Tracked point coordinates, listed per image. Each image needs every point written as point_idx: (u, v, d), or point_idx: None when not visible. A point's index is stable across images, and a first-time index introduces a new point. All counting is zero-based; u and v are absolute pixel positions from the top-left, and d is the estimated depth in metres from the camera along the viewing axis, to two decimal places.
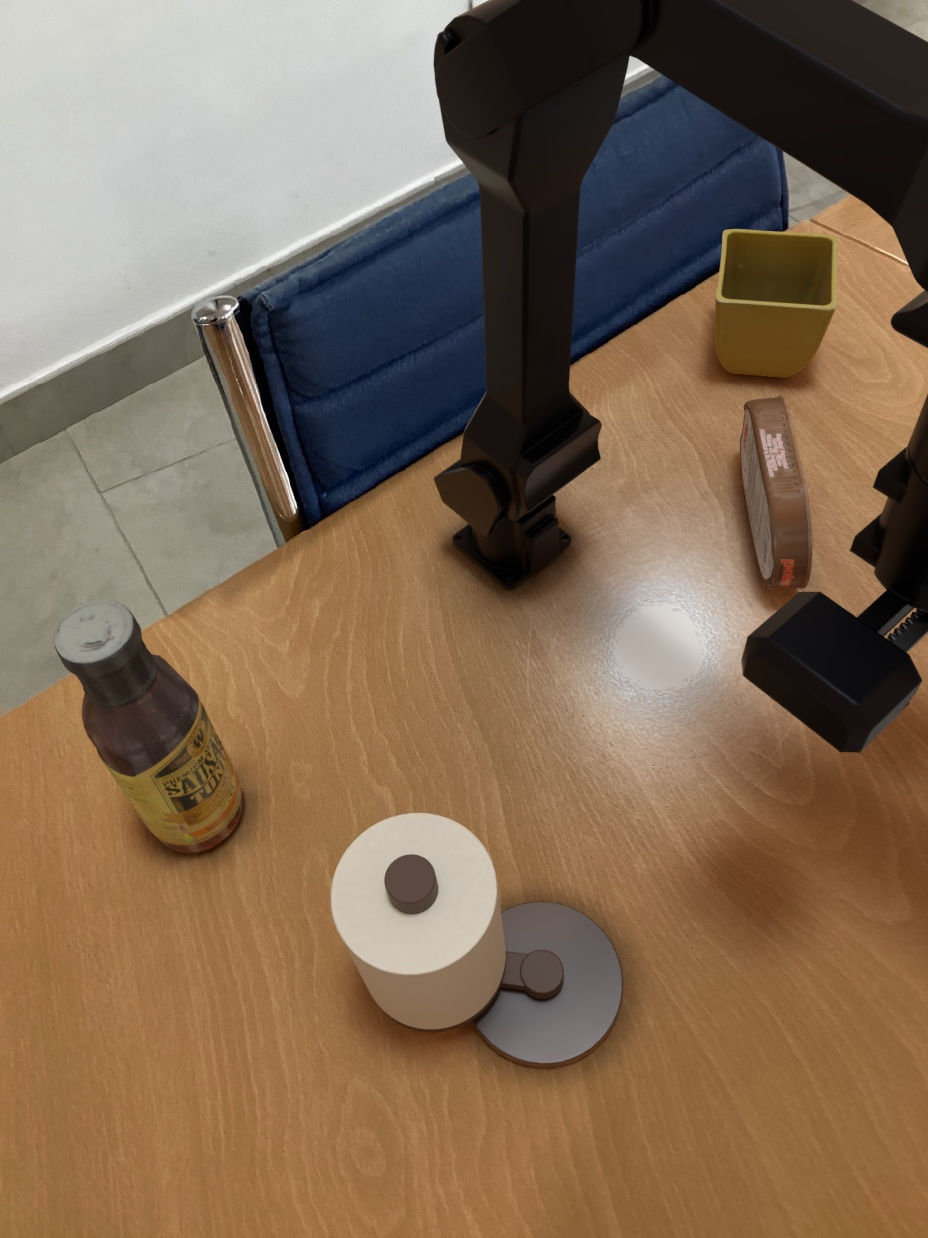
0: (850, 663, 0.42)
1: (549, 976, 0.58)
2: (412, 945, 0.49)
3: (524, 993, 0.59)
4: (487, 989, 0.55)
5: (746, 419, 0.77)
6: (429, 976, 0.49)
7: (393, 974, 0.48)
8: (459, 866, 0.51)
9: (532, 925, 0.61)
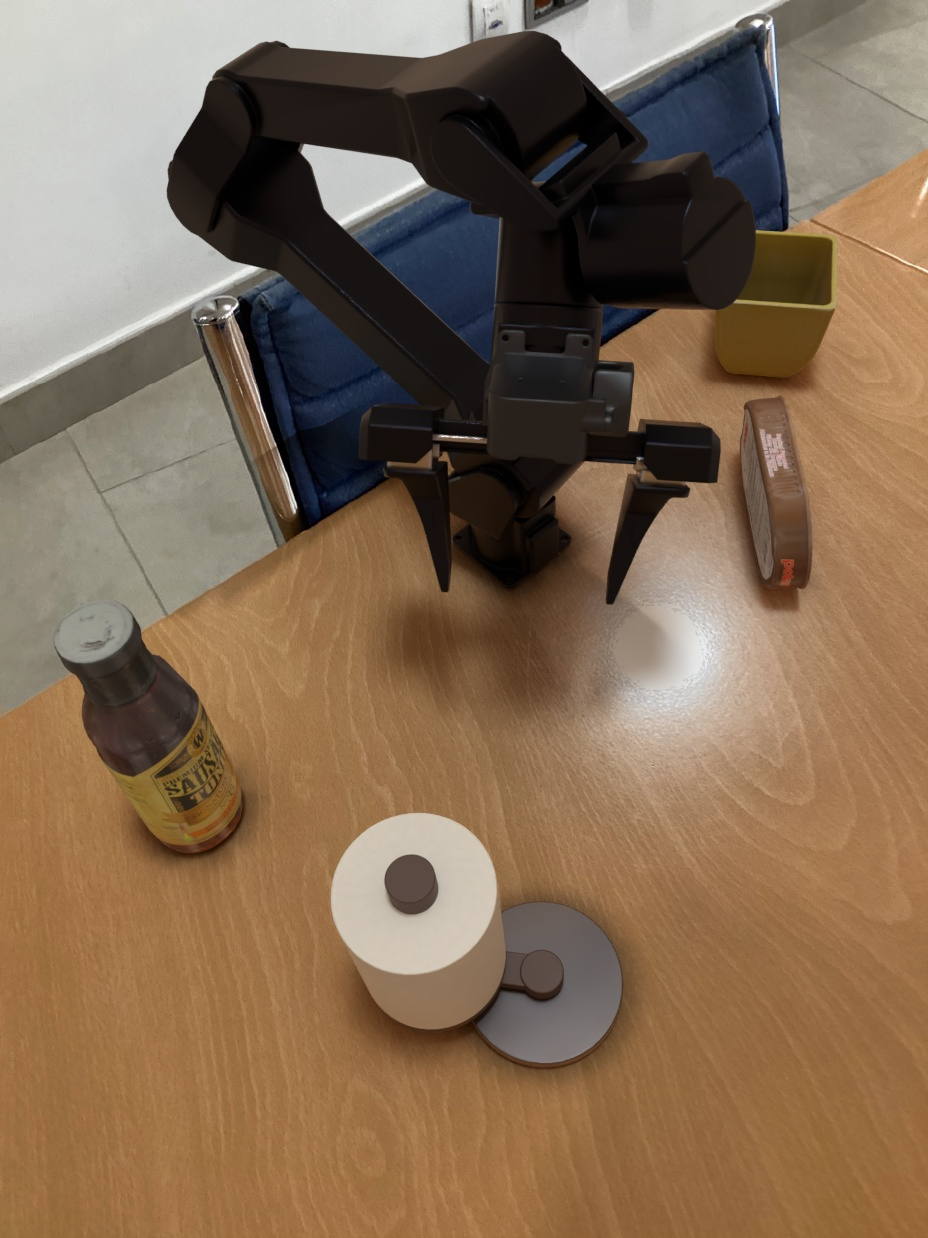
0: (401, 406, 0.57)
1: (549, 976, 0.58)
2: (412, 945, 0.49)
3: (524, 993, 0.59)
4: (487, 989, 0.55)
5: (746, 419, 0.77)
6: (429, 976, 0.49)
7: (393, 974, 0.48)
8: (459, 866, 0.51)
9: (532, 925, 0.61)
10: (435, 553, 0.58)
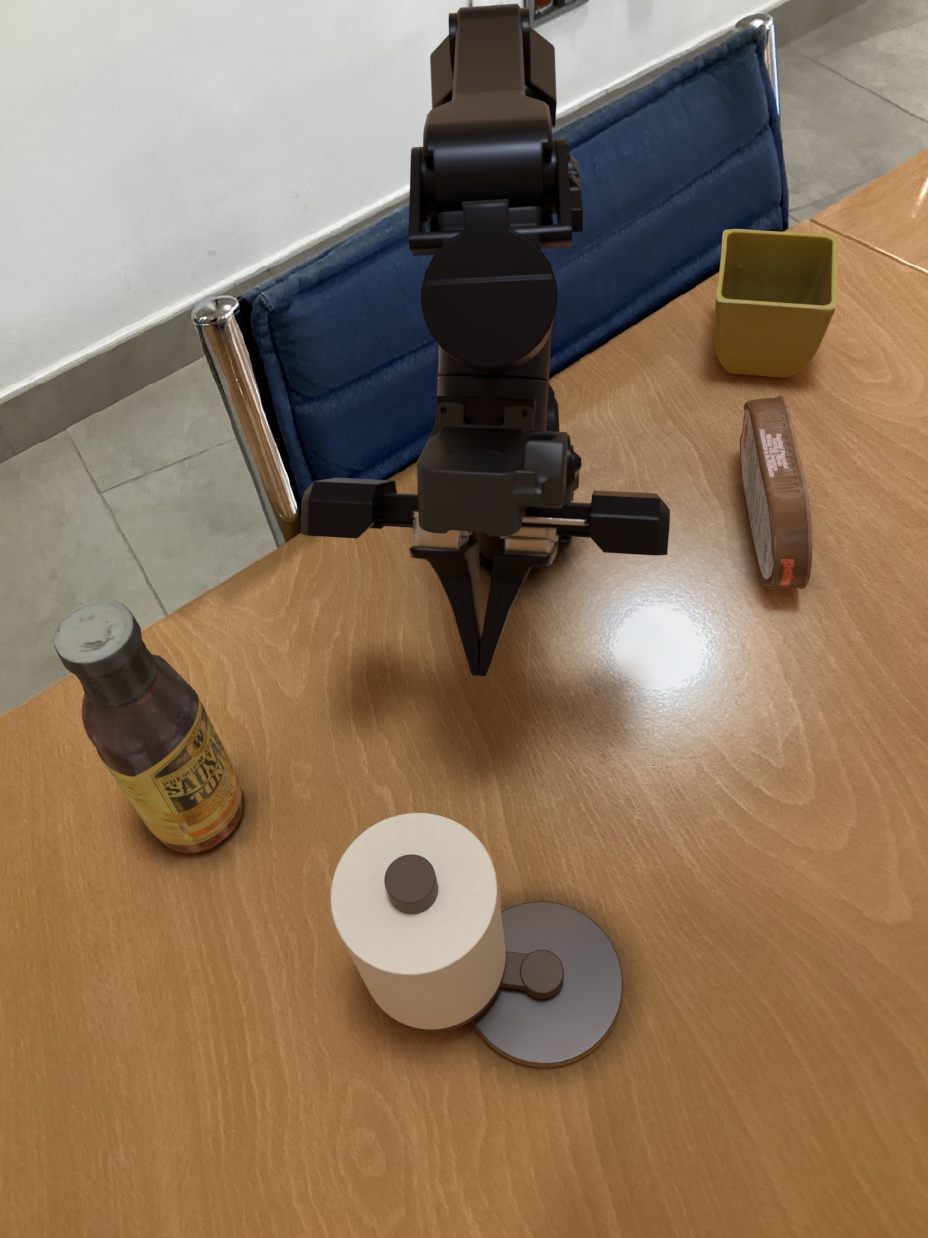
0: (346, 481, 0.56)
1: (549, 976, 0.58)
2: (412, 945, 0.49)
3: (524, 993, 0.59)
4: (487, 989, 0.55)
5: (746, 419, 0.77)
6: (429, 976, 0.49)
7: (393, 974, 0.48)
8: (459, 866, 0.51)
9: (532, 925, 0.61)
10: (464, 635, 0.56)
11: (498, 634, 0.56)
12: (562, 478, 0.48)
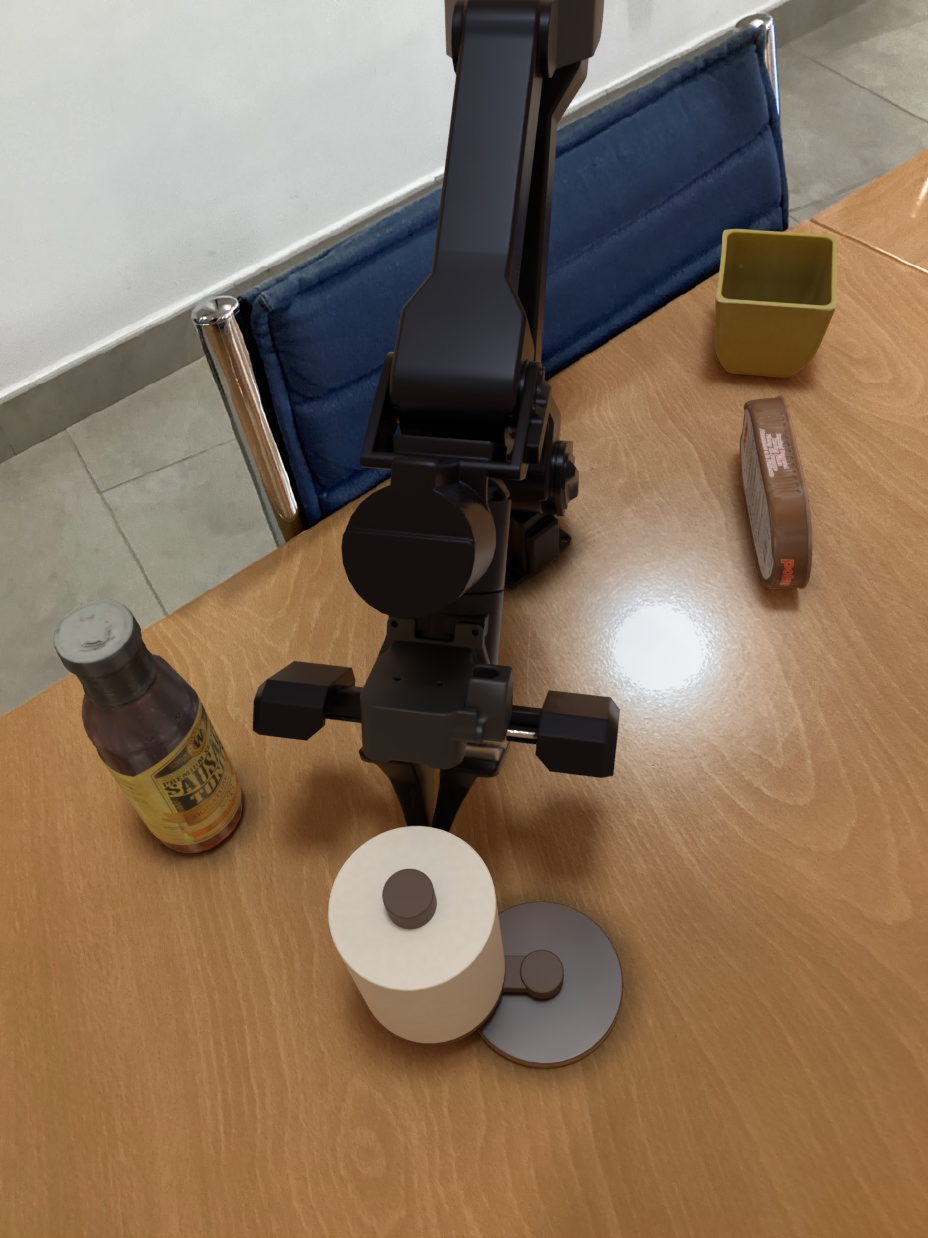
0: (300, 676, 0.56)
1: (550, 975, 0.58)
2: (417, 959, 0.49)
3: (524, 993, 0.59)
4: (491, 995, 0.55)
5: (746, 419, 0.77)
6: (437, 988, 0.48)
7: (401, 991, 0.48)
8: (454, 875, 0.51)
9: (532, 925, 0.61)
10: None
11: None
12: (504, 717, 0.48)
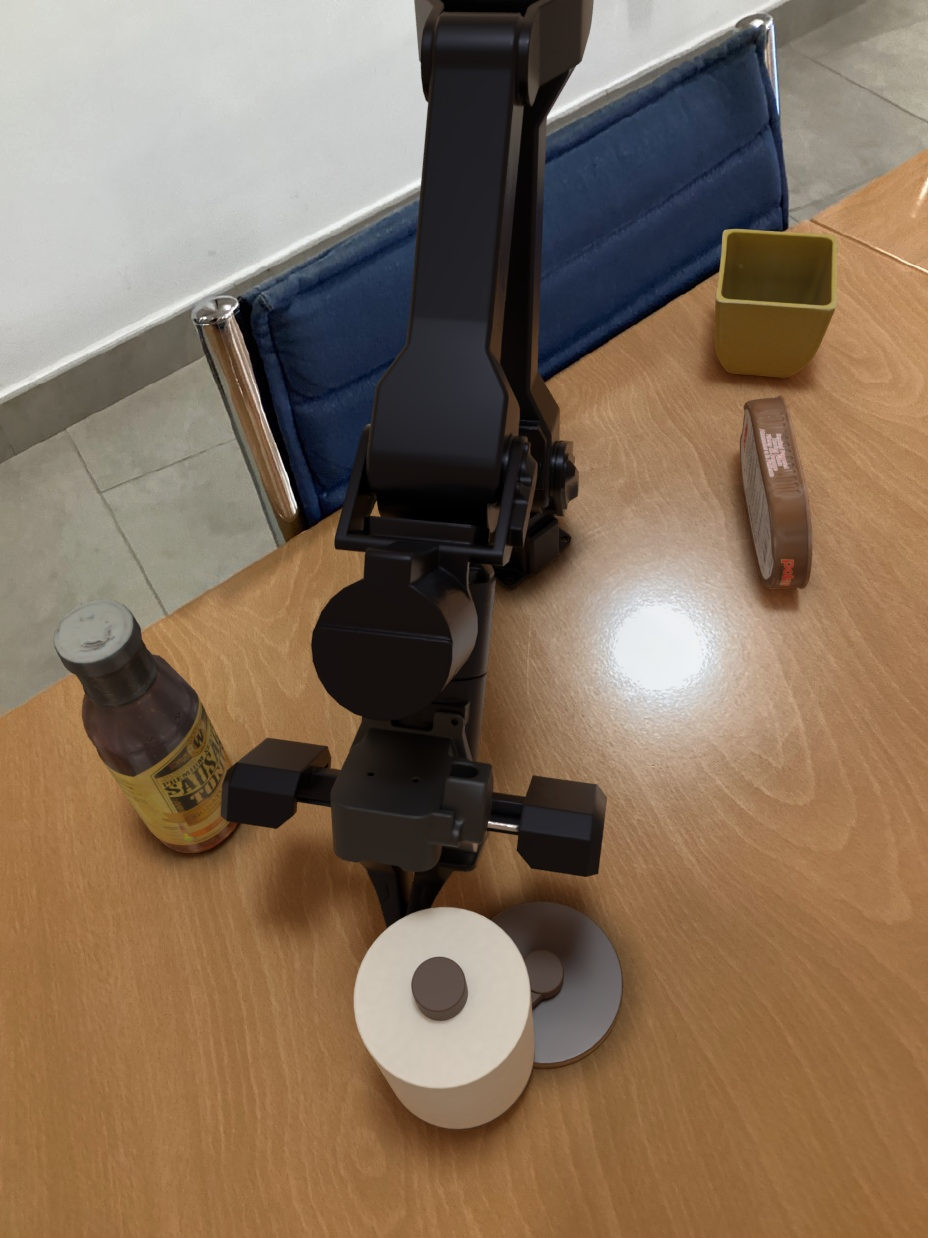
0: (272, 758, 0.53)
1: (550, 968, 0.58)
2: (486, 1031, 0.46)
3: None
4: None
5: (746, 419, 0.77)
6: (520, 1039, 0.47)
7: (496, 1068, 0.46)
8: (454, 940, 0.49)
9: (532, 925, 0.61)
10: (390, 924, 0.54)
11: None
12: (482, 820, 0.45)
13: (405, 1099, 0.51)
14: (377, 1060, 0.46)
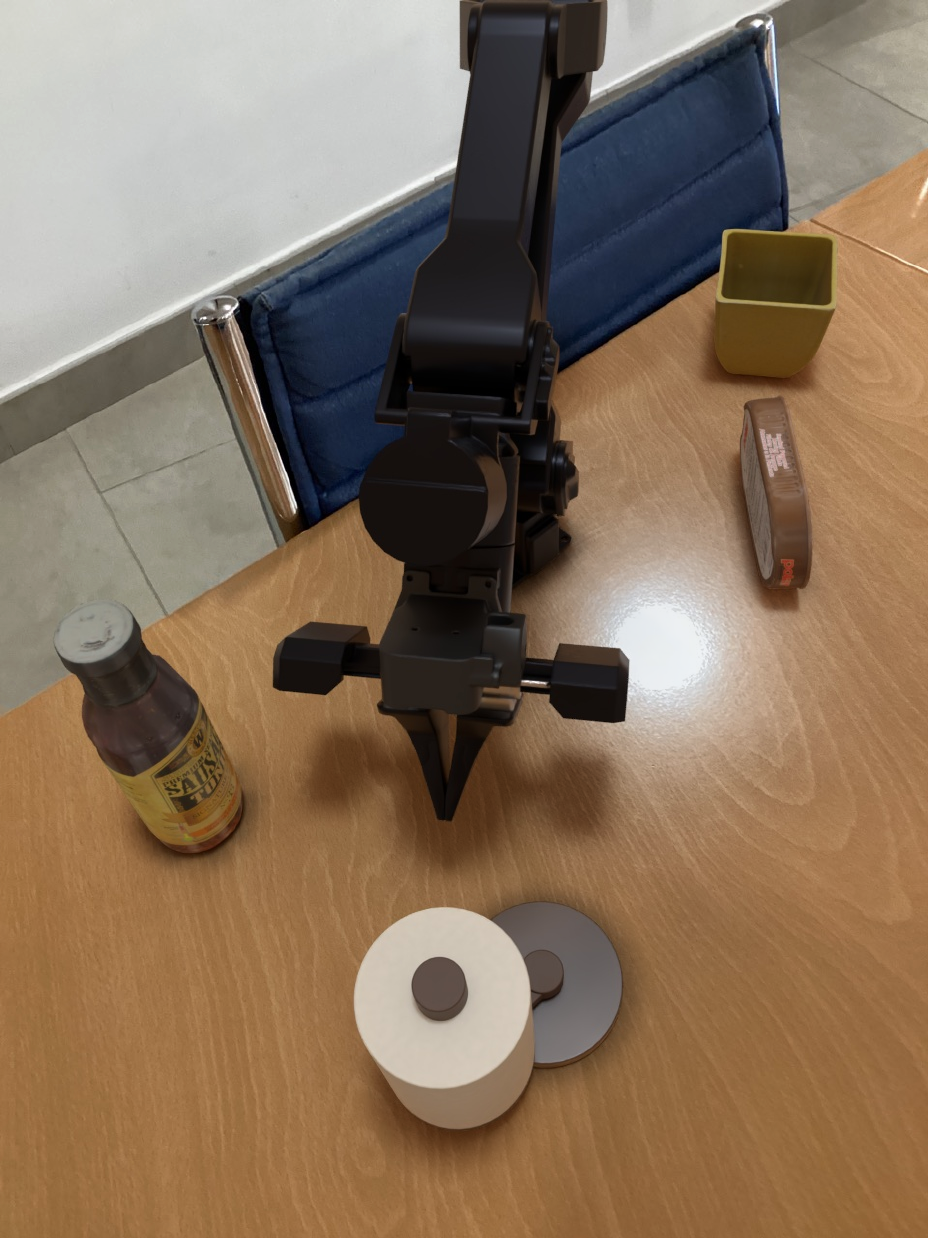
0: (317, 634, 0.57)
1: (550, 968, 0.58)
2: (487, 1031, 0.46)
3: None
4: None
5: (746, 419, 0.77)
6: (521, 1039, 0.47)
7: (497, 1068, 0.46)
8: (454, 940, 0.49)
9: (532, 925, 0.61)
10: (431, 784, 0.58)
11: (463, 784, 0.57)
12: (519, 663, 0.49)
13: (405, 1099, 0.51)
14: (377, 1060, 0.46)
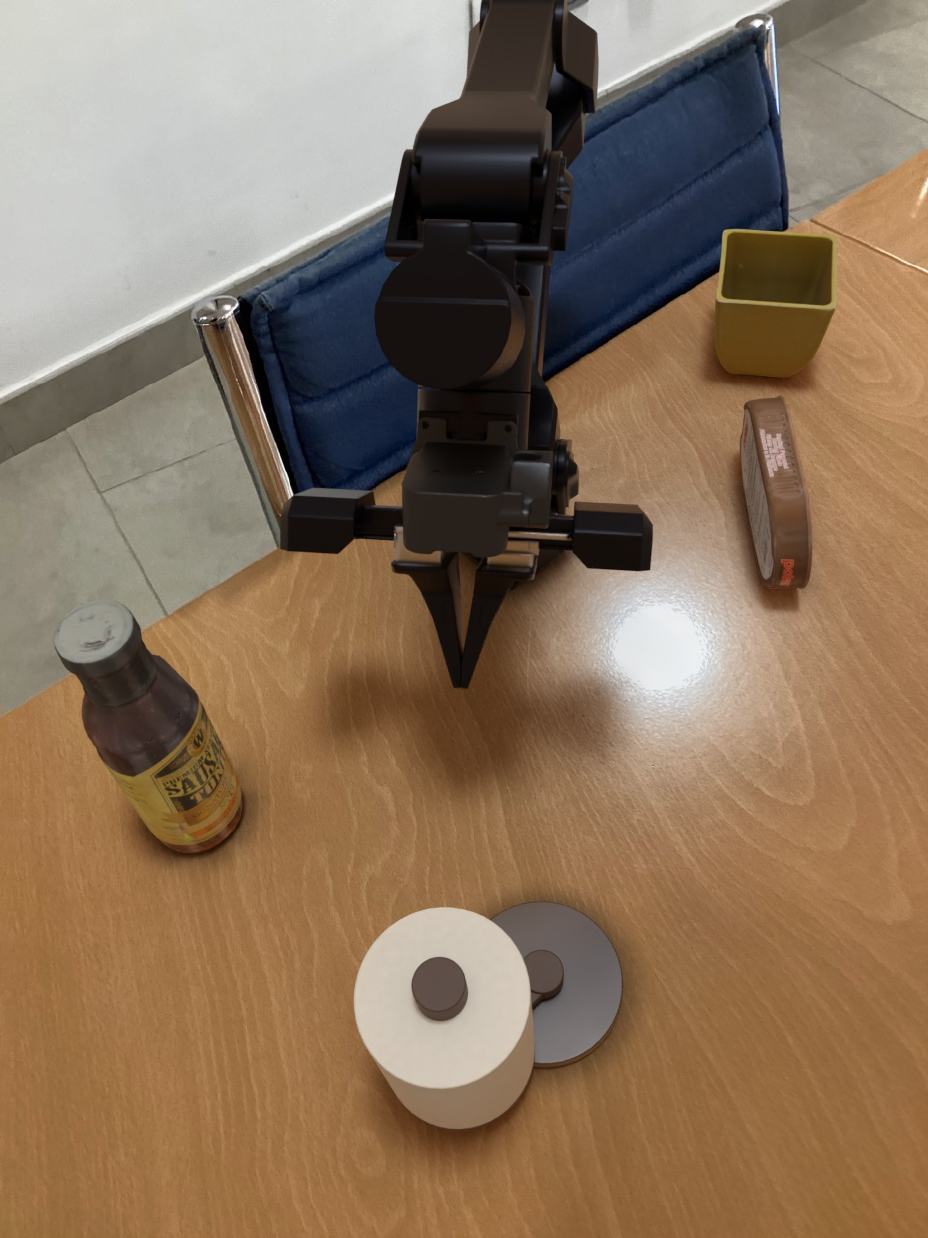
0: (325, 494, 0.55)
1: (550, 968, 0.58)
2: (487, 1031, 0.46)
3: None
4: None
5: (746, 419, 0.77)
6: (521, 1039, 0.47)
7: (497, 1068, 0.46)
8: (454, 940, 0.49)
9: (532, 925, 0.61)
10: (446, 649, 0.56)
11: (480, 647, 0.56)
12: (549, 499, 0.47)
13: (405, 1099, 0.51)
14: (377, 1060, 0.46)
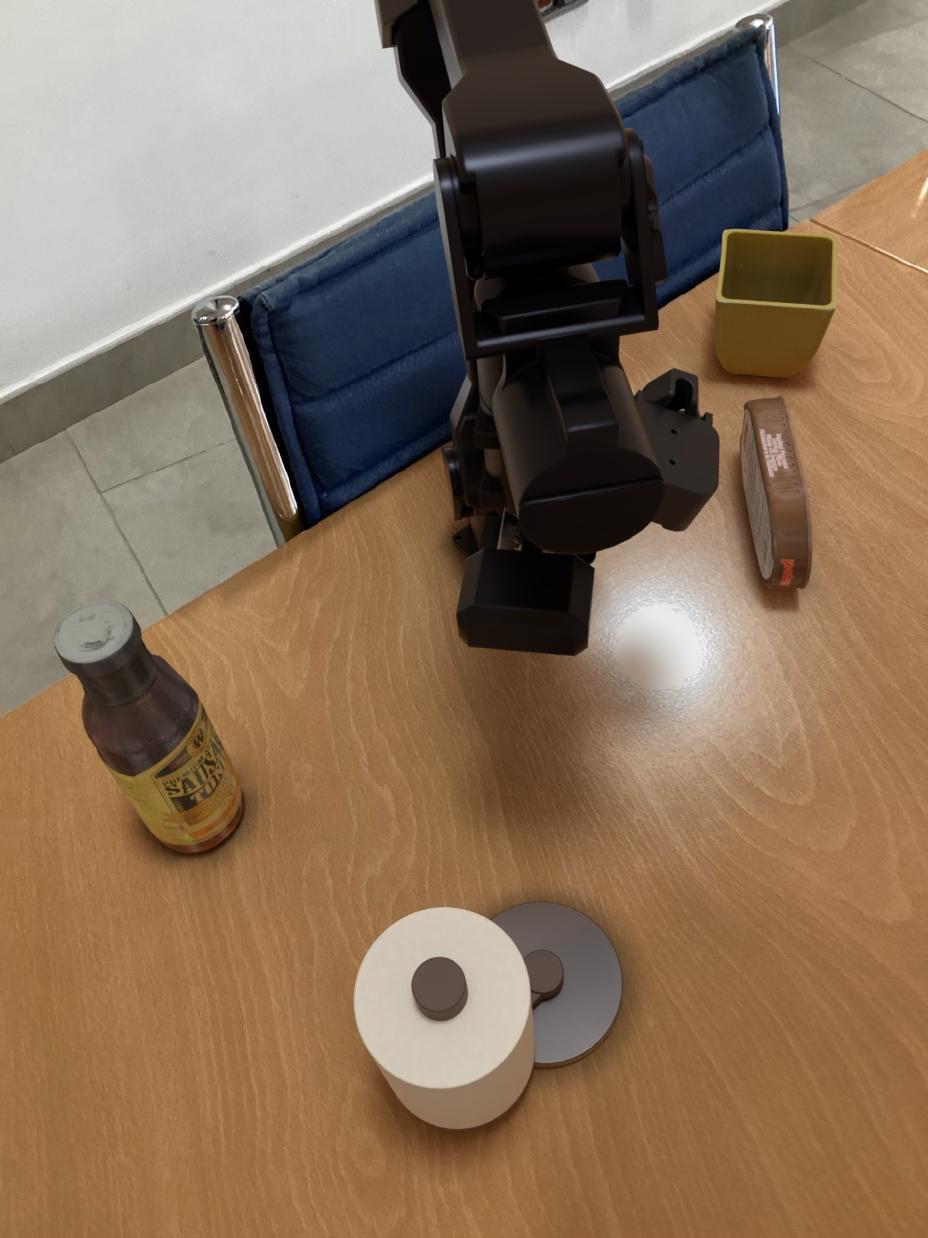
0: (542, 586, 0.49)
1: (550, 968, 0.58)
2: (487, 1031, 0.46)
3: None
4: None
5: (746, 419, 0.77)
6: (521, 1039, 0.47)
7: (497, 1068, 0.46)
8: (454, 940, 0.49)
9: (532, 925, 0.61)
10: None
11: None
12: None
13: (405, 1099, 0.51)
14: (377, 1060, 0.46)
